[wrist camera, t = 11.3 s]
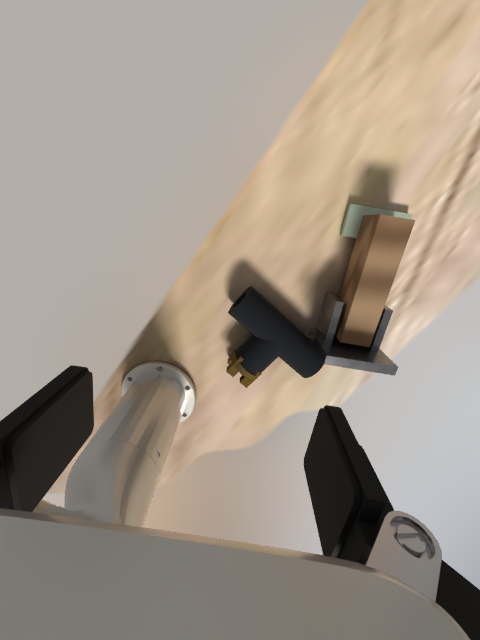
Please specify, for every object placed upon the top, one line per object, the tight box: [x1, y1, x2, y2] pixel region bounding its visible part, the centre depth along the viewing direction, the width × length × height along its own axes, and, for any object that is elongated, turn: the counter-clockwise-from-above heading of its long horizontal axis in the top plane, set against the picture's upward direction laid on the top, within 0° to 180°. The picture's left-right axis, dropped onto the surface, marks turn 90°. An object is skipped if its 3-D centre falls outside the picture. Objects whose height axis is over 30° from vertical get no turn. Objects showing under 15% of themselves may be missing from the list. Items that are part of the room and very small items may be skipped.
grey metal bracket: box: [309, 292, 398, 375], centre depth 37 cm, size 7×9×9 cm
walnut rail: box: [334, 214, 415, 347], centre depth 36 cm, size 16×4×5 cm, turn 171°
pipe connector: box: [226, 287, 324, 388], centre depth 41 cm, size 12×5×15 cm
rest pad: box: [340, 204, 412, 238], centre depth 36 cm, size 4×8×1 cm, turn 81°
